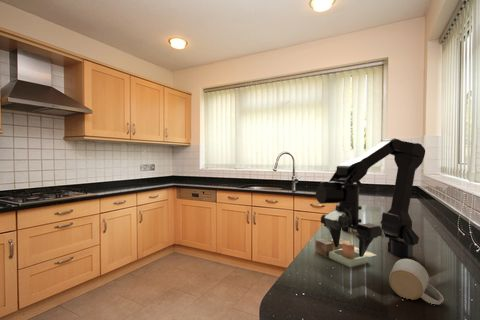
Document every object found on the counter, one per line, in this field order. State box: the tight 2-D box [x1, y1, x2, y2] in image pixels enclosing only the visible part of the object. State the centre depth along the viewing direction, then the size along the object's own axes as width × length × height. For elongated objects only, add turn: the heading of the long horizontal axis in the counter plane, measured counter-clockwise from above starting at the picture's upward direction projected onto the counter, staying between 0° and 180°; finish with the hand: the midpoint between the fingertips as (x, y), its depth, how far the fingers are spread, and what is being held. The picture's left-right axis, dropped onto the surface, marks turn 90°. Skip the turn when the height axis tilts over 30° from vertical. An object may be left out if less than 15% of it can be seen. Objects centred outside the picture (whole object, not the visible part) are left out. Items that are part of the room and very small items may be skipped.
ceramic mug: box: [388, 258, 445, 305], centre depth 60 cm, size 11×8×8 cm
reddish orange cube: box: [342, 243, 355, 259], centre depth 78 cm, size 4×4×4 cm
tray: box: [328, 249, 369, 268], centre depth 78 cm, size 8×8×2 cm
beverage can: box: [341, 225, 358, 234], centre depth 111 cm, size 7×7×12 cm
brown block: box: [314, 238, 333, 258], centre depth 83 cm, size 5×3×4 cm, turn 27°
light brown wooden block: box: [329, 237, 353, 250], centre depth 87 cm, size 5×5×3 cm
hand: (348, 251), depth 78 cm, fingers open, 9 cm apart
